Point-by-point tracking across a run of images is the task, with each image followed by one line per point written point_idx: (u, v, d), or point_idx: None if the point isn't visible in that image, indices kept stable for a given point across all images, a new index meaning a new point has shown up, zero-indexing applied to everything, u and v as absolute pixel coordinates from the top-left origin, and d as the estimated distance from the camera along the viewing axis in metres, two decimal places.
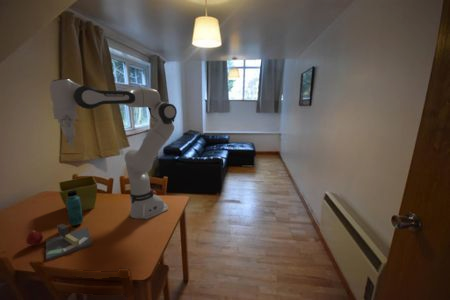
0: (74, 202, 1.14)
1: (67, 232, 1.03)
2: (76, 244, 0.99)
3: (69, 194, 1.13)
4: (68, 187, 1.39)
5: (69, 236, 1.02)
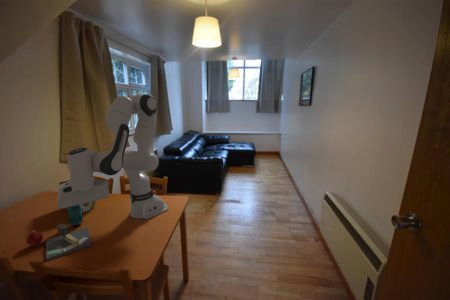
0: None
1: (67, 232, 1.03)
2: (76, 244, 0.99)
3: None
4: None
5: (69, 236, 1.02)
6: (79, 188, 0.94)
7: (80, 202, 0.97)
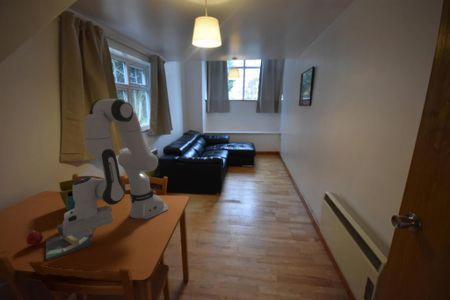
0: (74, 202, 1.14)
1: None
2: (76, 244, 0.99)
3: (69, 194, 1.13)
4: (68, 187, 1.39)
5: (69, 236, 1.02)
6: (83, 216, 0.97)
7: (84, 229, 1.00)
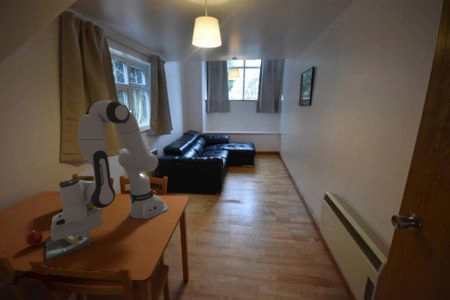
0: None
1: None
2: (76, 244, 0.99)
3: None
4: None
5: (69, 236, 1.02)
6: (72, 220, 0.94)
7: (73, 233, 0.97)
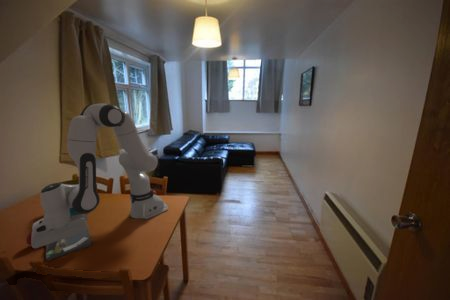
0: None
1: None
2: (56, 251, 0.94)
3: None
4: None
5: None
6: (54, 226, 0.90)
7: (56, 239, 0.93)
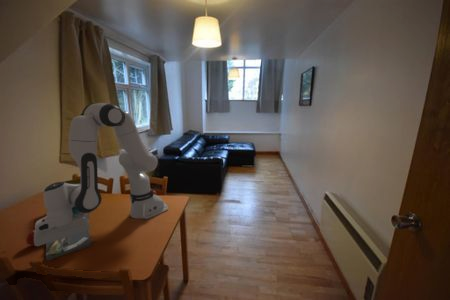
0: None
1: None
2: (51, 252, 0.93)
3: None
4: None
5: None
6: (56, 225, 0.91)
7: (58, 238, 0.94)
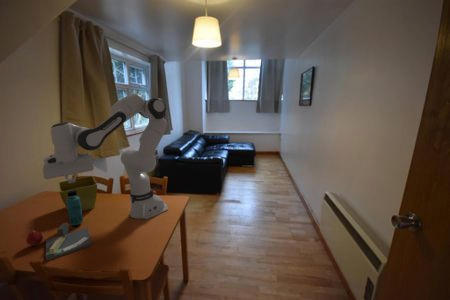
0: (74, 202, 1.14)
1: (62, 235, 1.02)
2: (51, 252, 0.93)
3: (69, 194, 1.13)
4: (68, 187, 1.39)
5: (58, 239, 0.99)
6: (63, 159, 0.99)
7: (65, 173, 1.02)
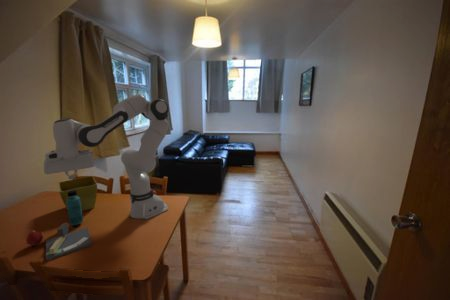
0: (74, 202, 1.14)
1: (62, 235, 1.02)
2: (51, 252, 0.93)
3: (69, 194, 1.13)
4: (68, 187, 1.39)
5: (58, 239, 0.99)
6: (64, 155, 1.00)
7: (65, 169, 1.04)
